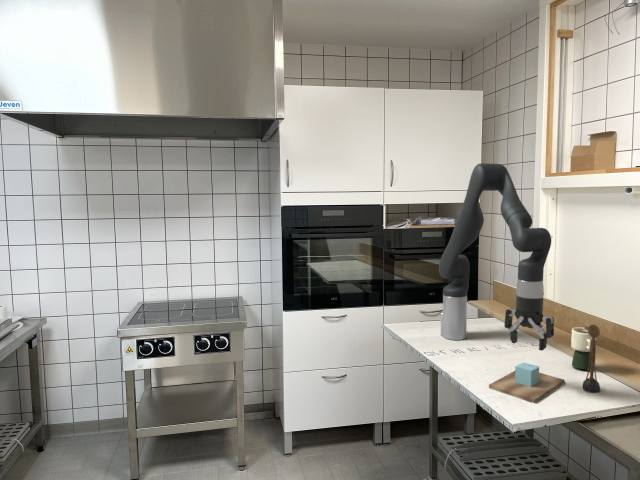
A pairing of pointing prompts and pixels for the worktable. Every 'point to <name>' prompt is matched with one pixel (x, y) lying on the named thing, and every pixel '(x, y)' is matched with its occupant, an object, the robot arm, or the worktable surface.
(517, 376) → the teal cube
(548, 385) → the walnut board
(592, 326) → the wooden tabletop sculpture
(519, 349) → the worktable surface
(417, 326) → the worktable surface
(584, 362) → the character mug
